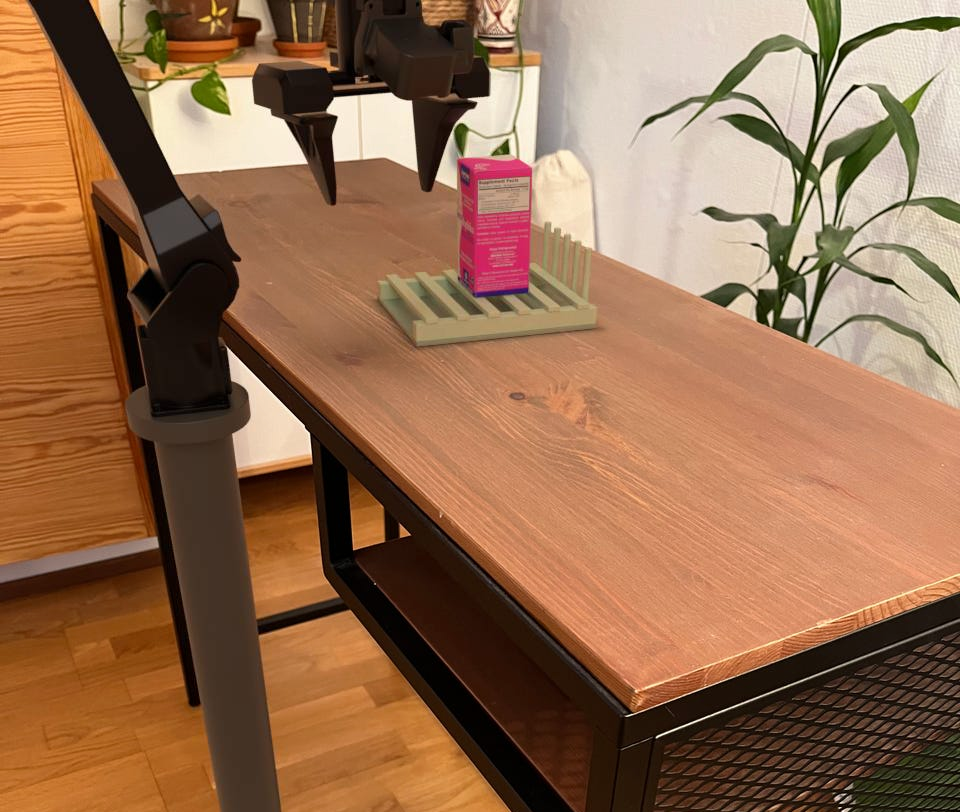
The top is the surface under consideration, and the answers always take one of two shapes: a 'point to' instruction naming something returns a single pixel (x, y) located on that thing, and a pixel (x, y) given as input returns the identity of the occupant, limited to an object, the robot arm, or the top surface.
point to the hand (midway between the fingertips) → (380, 197)
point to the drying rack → (493, 302)
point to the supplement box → (494, 225)
